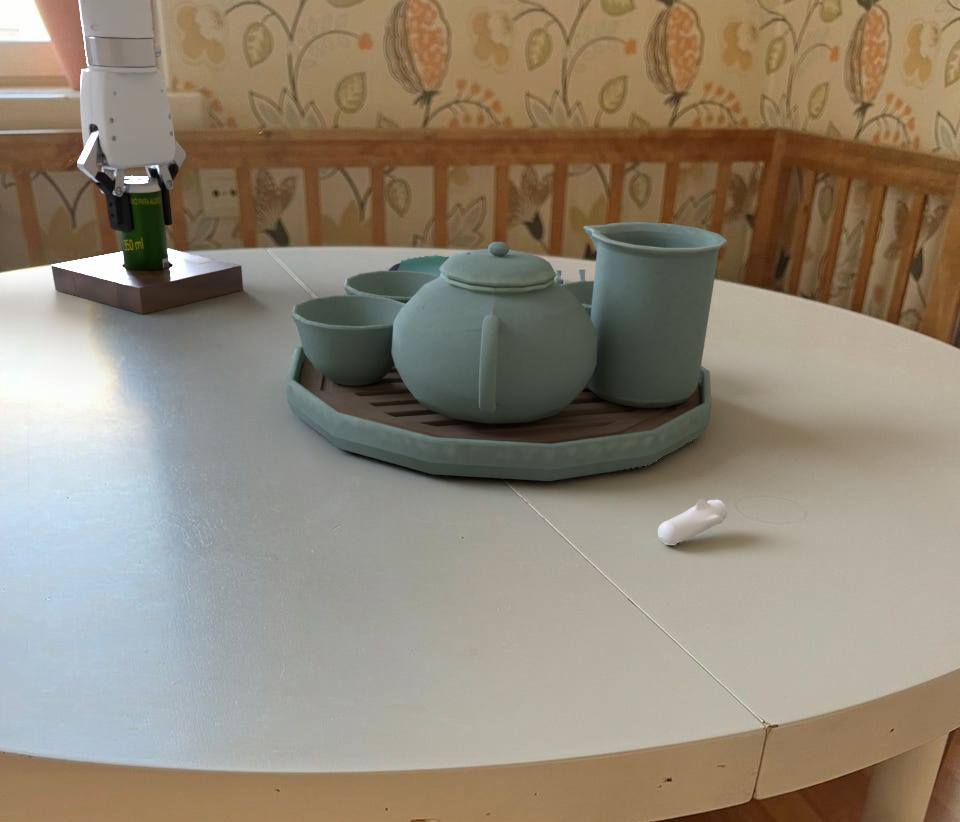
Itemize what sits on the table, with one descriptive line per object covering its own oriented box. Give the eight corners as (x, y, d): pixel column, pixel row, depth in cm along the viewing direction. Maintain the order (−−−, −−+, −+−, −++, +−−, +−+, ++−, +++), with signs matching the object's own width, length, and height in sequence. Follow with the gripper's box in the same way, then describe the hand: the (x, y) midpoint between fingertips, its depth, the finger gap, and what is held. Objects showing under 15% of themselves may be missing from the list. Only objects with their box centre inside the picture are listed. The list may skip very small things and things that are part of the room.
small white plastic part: (640, 529, 78) (645, 490, 76) (717, 528, 79) (724, 490, 77) (652, 551, 75) (658, 511, 73) (732, 549, 76) (740, 510, 74)
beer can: (174, 279, 132) (163, 176, 126) (168, 289, 128) (156, 184, 122) (130, 278, 132) (117, 175, 125) (122, 288, 127) (108, 182, 121)
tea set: (602, 335, 122) (618, 182, 113) (789, 466, 90) (831, 267, 81) (257, 353, 110) (245, 185, 102) (330, 510, 78) (322, 284, 70)
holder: (55, 290, 128) (50, 264, 127) (157, 269, 140) (155, 245, 138) (142, 314, 121) (139, 288, 119) (243, 290, 132) (241, 265, 131)
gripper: (158, 52, 125) (175, 213, 134) (33, 54, 112) (61, 232, 122) (202, 57, 121) (216, 222, 131) (78, 59, 109) (103, 242, 119)
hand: (141, 225), depth 126 cm, fingers closed on beer can, 5 cm apart
